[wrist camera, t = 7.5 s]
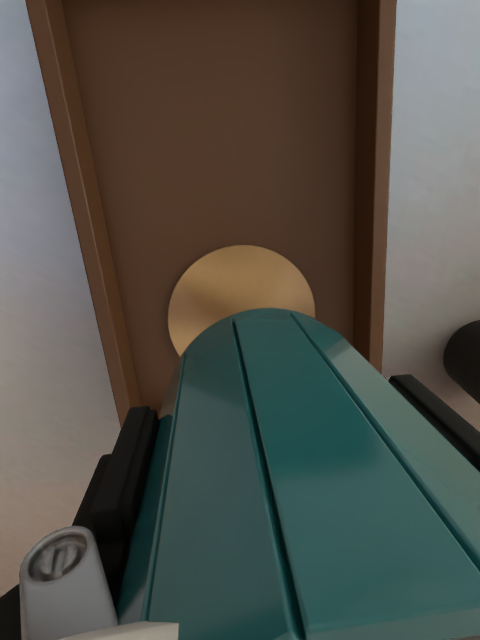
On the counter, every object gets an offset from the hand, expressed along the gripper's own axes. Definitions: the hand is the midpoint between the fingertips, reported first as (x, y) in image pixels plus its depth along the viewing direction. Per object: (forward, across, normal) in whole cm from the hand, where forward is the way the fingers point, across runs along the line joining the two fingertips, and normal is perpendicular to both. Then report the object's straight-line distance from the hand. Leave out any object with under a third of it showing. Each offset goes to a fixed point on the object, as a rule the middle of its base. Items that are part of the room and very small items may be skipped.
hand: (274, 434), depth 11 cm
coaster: (+12, 0, 0) cm, 12 cm away
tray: (+12, 0, -6) cm, 13 cm away
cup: (+2, 0, 0) cm, 2 cm away
